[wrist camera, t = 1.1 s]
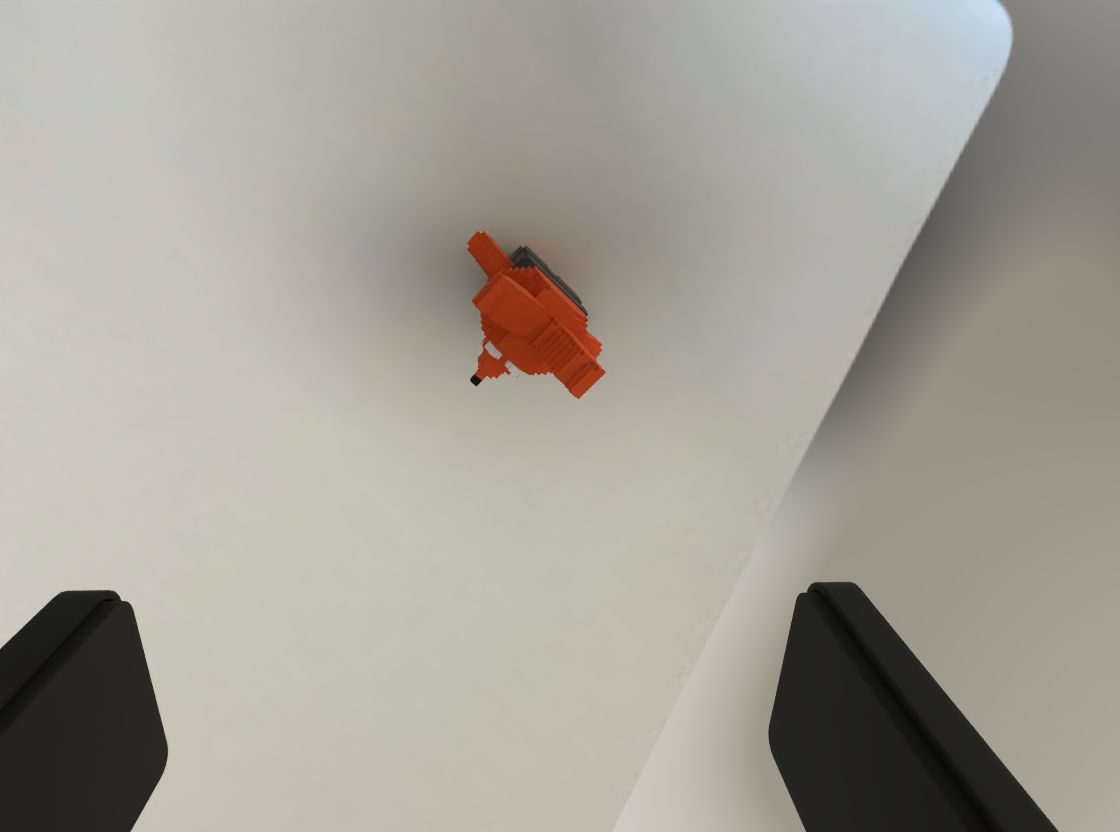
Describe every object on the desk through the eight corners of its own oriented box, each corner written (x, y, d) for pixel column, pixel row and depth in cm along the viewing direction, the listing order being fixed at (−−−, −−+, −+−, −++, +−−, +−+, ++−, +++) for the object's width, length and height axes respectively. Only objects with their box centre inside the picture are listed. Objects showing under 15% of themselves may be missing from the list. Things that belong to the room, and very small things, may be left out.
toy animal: (425, 285, 34) (384, 344, 23) (494, 209, 33) (485, 231, 22) (533, 382, 37) (543, 477, 26) (601, 314, 35) (642, 382, 24)
